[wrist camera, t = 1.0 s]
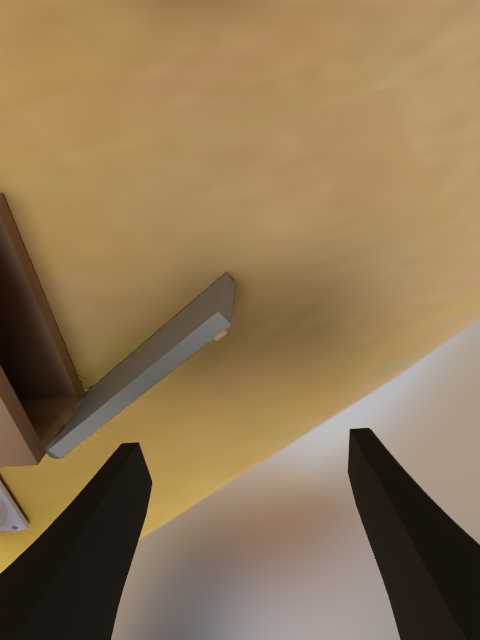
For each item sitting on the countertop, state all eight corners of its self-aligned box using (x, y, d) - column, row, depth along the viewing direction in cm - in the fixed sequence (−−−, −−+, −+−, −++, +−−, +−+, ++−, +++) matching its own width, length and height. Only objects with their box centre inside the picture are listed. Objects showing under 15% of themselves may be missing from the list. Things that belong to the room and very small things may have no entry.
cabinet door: (83, 393, 22) (40, 454, 17) (224, 271, 18) (216, 309, 13) (100, 406, 22) (63, 469, 18) (242, 290, 18) (240, 334, 14)
